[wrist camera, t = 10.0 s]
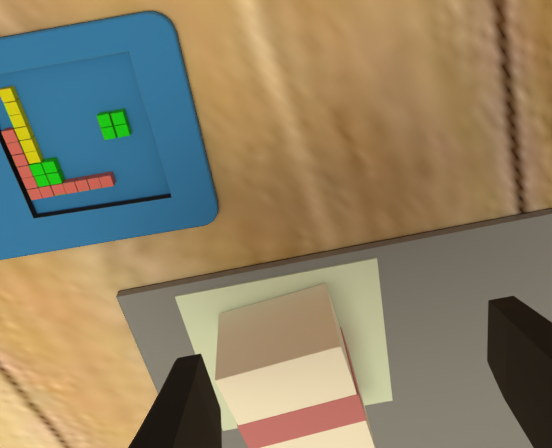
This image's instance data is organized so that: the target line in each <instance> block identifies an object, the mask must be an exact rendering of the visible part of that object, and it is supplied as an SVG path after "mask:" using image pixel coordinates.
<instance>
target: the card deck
mask: <svg viewBox="0 0 552 448" xmlns="http://www.w3.org/2000/svg"><path fill="white" fill-rule="evenodd" d="M215 382H216V384H217V386H218V388H219V390H220V392H221V393H222V395H223V397H224V399H225V401H226V403H227V405H228V407H229V409H230V411H231V413H232V414H233V416H234V418H235V420H236V422H237V427H238V429H239V431H240V433H241V435H242V437H243V438H244V440H245V442H246V444H247V446H248V448H376V447H375V444H374V440H373V436H372V432H371V428H370V425H369V421H368V417H367V413H366V409H365V406H364V402H363V398H362V394H361V390H360V387H359V384H358V381H357V378H356V375H355V372H354V369H353V365H352V361H351V357H350V354H349V350H348V347H347V344H346V341H345V338H344V335H343V332H342V328H341V327H340V326H339V323H338V320H337V317H336V314H335V311H334V308H333V304H332V301H331V298H330V295H329V292H328V289H327V286H326V283H325V284H321V285H318V286H314V287H311V288H307V289H304V290H300V291H297V292H293V293H290V294H286V295H283V296H279V297H276V298H272V299H269V300H265V301H262V302H258V303H255V304H251V305H248V306H245V307H241V308H238V309H234V310H231V311H227V312H224V313H220V314H219V319H218V336H217V353H216V370H215Z"/></svg>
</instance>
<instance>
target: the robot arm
mask: <svg viewBox="0 0 552 448" xmlns="http://www.w3.org/2000/svg"><path fill="white" fill-rule="evenodd" d="M487 362H488V364H489V367H490V369H491V371H492V373H493V376H494V378H495V380H496V382H497V385H498V387H499V389H500V391H501V393H502V395H503V397H504V399H505V401H506V403H507V405H508V406H509V408H510V410H511V411H512V413H513V415H514V416H515V418H516V420H517V421H518V423H519V425H520V426H521V428H522V430H523V431H524V433H525V434H526V436H527V438H528V439H529V441H530V443H531V444H532V446H533V448H552V322H550V321H549V320H548V319H546V318H545V317H543V316H542V315H540V314H539V313H538V312H536V311H535V310H533V309H532V308H530V307H529V306H528V305H526V304H525V303H523V302H522V301H520V300H519V299H518V298H516V297H515V296H509V297H504V298H498V299H493V300H488V341H487ZM128 448H222V429H221V408H220V406H219V403H218V400H217V397H216V394H215V391H214V389H213V386H212V383H211V380H210V377H209V374H208V372H207V369H206V366H205V363H204V360H203V357H202V355H201V354H196V355H190V356H185V357H180V358H177V359H176V361H175V362H174V364H173V366H172V368H171V370H170V372H169V374H168V376H167V378H166V380H165V382H164V384H163V386H162V388H161V390H160V392H159V394H158V396H157V398H156V400H155V402H154V404H153V405H152V407H151V409H150V411H149V413H148V414H147V416H146V418H145V420H144V422H143V423H142V425H141V427H140V429H139V431H138V432H137V434H136V436H135V437H134V439H133V441H132V442H131V444H130V445H129V447H128Z"/></svg>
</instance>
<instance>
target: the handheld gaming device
mask: <svg viewBox="0 0 552 448" xmlns="http://www.w3.org/2000/svg"><path fill="white" fill-rule="evenodd" d="M217 213H218V200H217V196H216V192H215V188H214V184H213V180H212V176H211V171H210V167H209V163H208V159H207V155H206V151H205V147H204V143H203V138H202V134H201V130H200V126H199V122H198V118H197V114H196V109H195V105H194V101H193V97H192V93H191V89H190V85H189V80H188V76H187V72H186V68H185V64H184V60H183V56H182V52H181V47H180V43H179V39H178V35H177V31H176V29H175V26H174V24H173V23H172V22H171V20H170V19H169V18H168V17H166V16H165V15H164V14H162V13H159V12H156V11H144V12H138V13H132V14H127V15H121V16H116V17H110V18H105V19H99V20H94V21H88V22H82V23H77V24H71V25H66V26H60V27H55V28H49V29H44V30H38V31H32V32H27V33H21V34H16V35H10V36H5V37H0V260H3V259H9V258H15V257H21V256H27V255H32V254H38V253H44V252H50V251H56V250H62V249H68V248H74V247H80V246H86V245H92V244H98V243H103V242H109V241H115V240H121V239H127V238H133V237H139V236H145V235H151V234H157V233H163V232H169V231H175V230H180V229H186V228H192V227H198V226H204V225H207V224H209V223H211V222H212V221H213V220H214V219H215V218H216V216H217Z"/></svg>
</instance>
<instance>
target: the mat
mask: <svg viewBox="0 0 552 448" xmlns="http://www.w3.org/2000/svg"><path fill="white" fill-rule="evenodd" d="M325 283H326V286H327V289H328V292H329V295H330V298H331V301H332V304H333V308H334V311H335V314H336V317H337V320H338V323H339V326H340V327H341V328H342V332H343V335H344V338H345V341H346V344H347V347H348V350H349V354H350V357H351V361H352V365H353V369H354V372H355V375H356V378H357V381H358V384H359V387H360V390H361V394H362V398H363V402H364V406H365V409H366V413H367V417H368V421H369V425H370V428H371V432H372V436H373V440H374V444H375V447H376V448H533V446H532V444H531V443H530V441H529V439H528V438H527V436H526V434H525V433H524V431H523V430H522V428H521V426H520V425H519V423H518V421H517V420H516V418H515V416H514V415H513V413H512V411H511V410H510V408H509V406H508V405H507V403H506V401H505V399H504V397H503V395H502V393H501V391H500V389H499V387H498V385H497V382H496V380H495V378H494V376H493V373H492V371H491V369H490V367H489V364H488V362H487V341H488V300H493V299H498V298H504V297H509V296H515V297H516V298H518V299H519V300H520V301H522V302H523V303H525V304H526V305H528V306H529V307H530V308H532V309H533V310H535V311H536V312H538V313H539V314H540V315H542V316H543V317H545V318H546V319H548V320H549V321H550V322H552V209H547V210H541V211H536V212H531V213H526V214H520V215H515V216H510V217H505V218H500V219H494V220H489V221H484V222H479V223H473V224H468V225H463V226H458V227H453V228H447V229H442V230H437V231H432V232H426V233H421V234H416V235H411V236H406V237H400V238H395V239H390V240H385V241H380V242H374V243H369V244H364V245H359V246H353V247H348V248H343V249H338V250H333V251H327V252H322V253H317V254H312V255H306V256H301V257H296V258H291V259H286V260H280V261H275V262H270V263H265V264H259V265H254V266H249V267H244V268H239V269H233V270H228V271H223V272H218V273H212V274H207V275H202V276H197V277H192V278H186V279H181V280H176V281H171V282H165V283H160V284H155V285H150V286H145V287H139V288H134V289H129V290H124V291H119V292H118V294H117V296H116V298H117V300H118V302H119V304H120V307H121V309H122V311H123V314H124V316H125V318H126V321H127V323H128V325H129V328H130V330H131V332H132V335H133V337H134V339H135V341H136V344H137V346H138V348H139V351H140V353H141V355H142V358H143V360H144V362H145V365H146V367H147V369H148V372H149V374H150V376H151V378H152V381H153V383H154V385H155V388H156V390H157V392H158V394H159V392H160V390H161V388H162V386H163V384H164V382H165V380H166V378H167V376H168V374H169V372H170V370H171V368H172V366H173V364H174V362H175V361H176V359H177V358H180V357H185V356H190V355H196V354H201V355H202V357H203V360H204V363H205V366H206V369H207V372H208V374H209V377H210V380H211V383H212V386H213V389H214V391H215V394H216V397H217V400H218V403H219V406H220V408H221V429H222V448H248V446H247V444H246V442H245V440H244V438H243V437H242V435H241V433H240V431H239V429H238V427H237V422H236V420H235V418H234V416H233V414H232V413H231V411H230V409H229V407H228V405H227V403H226V401H225V399H224V397H223V395H222V393H221V392H220V390H219V388H218V386H217V384H216V382H215V370H216V353H217V336H218V319H219V314H220V313H224V312H227V311H231V310H234V309H238V308H241V307H245V306H248V305H251V304H255V303H258V302H262V301H265V300H269V299H272V298H276V297H279V296H283V295H286V294H290V293H293V292H297V291H300V290H304V289H307V288H311V287H314V286H318V285H321V284H325Z"/></svg>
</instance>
